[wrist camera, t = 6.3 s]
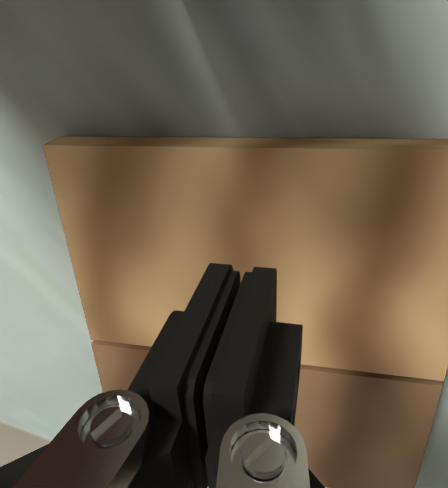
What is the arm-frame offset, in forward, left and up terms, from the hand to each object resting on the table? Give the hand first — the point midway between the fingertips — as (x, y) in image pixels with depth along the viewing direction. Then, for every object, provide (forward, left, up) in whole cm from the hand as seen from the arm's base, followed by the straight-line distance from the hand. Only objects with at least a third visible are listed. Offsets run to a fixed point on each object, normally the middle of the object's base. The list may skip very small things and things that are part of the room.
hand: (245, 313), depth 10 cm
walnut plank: (+1, +15, -11) cm, 19 cm away
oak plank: (+1, +4, -11) cm, 12 cm away
